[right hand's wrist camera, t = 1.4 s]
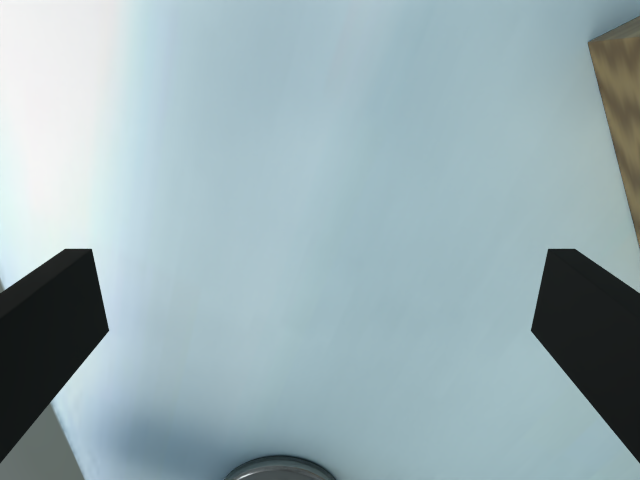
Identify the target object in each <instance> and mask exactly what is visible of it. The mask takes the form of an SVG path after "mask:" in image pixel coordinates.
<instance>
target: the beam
mask: <svg viewBox="0 0 640 480" xmlns="http://www.w3.org/2000/svg"><path fill="white" fill-rule="evenodd" d="M588 46H589V50H590V53H591V57H592V61H593V65H594V69H595V73H596V77H597V81H598V85H599V89H600V93H601V97H602V101H603V105H604V109H605V112H606V116H607V120H608V124H609V128H610V132H611V136H612V140H613V144H614V148H615V152H616V156H617V160H618V164H619V168H620V171H621V175H622V179H623V183H624V187H625V191H626V195H627V199H628V203H629V207H630V211H631V215H632V219H633V223H634V227H635V230H636V234H637V238H638V242H639V246H640V16H639V17H637V18H635V19H633V20H631V21H629V22H627V23H625V24H623V25H621V26H619V27H617V28H615V29H613V30H611V31H609V32H607V33H605V34H603V35H601V36H599V37H597V38H595V39H593V40H591V41H589V42H588Z"/></svg>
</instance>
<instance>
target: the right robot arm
mask: <svg viewBox="0 0 640 480" xmlns="http://www.w3.org/2000/svg"><path fill="white" fill-rule="evenodd" d="M108 331H109V328H108V323H107V319H106V314H105V309H104V304H103V300H102V295H101V290H100V285H99V281H98V276H97V271H96V266H95V262H94V257H93V252H92V249H64V250H63V251H61V252H60V253H58V254H57V255H55V256H54V257H53V258H51V259H50V260H48V261H47V262H45V263H44V264H42V265H41V266H39V267H38V268H37V269H35V270H34V271H32V272H31V273H29V274H28V275H26V276H25V277H23V278H22V279H21V280H19V281H18V282H16V283H15V284H13V285H12V286H10V287H9V288H7V289H6V290H5V291H3V292H2V293H0V463H1V462H2V460H3V459H4V458H5V457H6V456H7V454H8V453H9V452H10V451H11V450H12V448H13V447H14V446H15V445H16V443H17V442H18V441H19V440H20V439H21V437H22V436H23V435H24V434H25V433H26V431H27V430H28V429H29V428H30V426H31V425H32V424H33V423H34V421H35V420H36V419H37V418H38V417H39V415H40V414H41V413H42V412H43V411H44V409H45V408H46V407H47V406H48V405H49V403H50V402H51V401H52V400H53V398H54V397H55V396H56V395H57V394H58V392H59V391H60V390H61V389H62V387H63V386H64V385H65V384H66V383H67V381H68V380H69V379H70V378H71V377H72V375H73V374H74V373H75V372H76V370H77V369H78V368H79V367H80V366H81V364H82V363H83V362H84V361H85V359H86V358H87V357H88V356H89V355H90V353H91V352H92V351H93V350H94V348H95V347H96V346H97V345H98V344H99V342H100V341H101V340H102V339H103V338H104V336H105V335H106V334H107V333H108ZM531 331H532V333H533V334H534V335H535V336H536V338H537V339H538V340H539V341H540V342H541V344H542V345H543V346H544V347H545V348H546V350H547V351H548V352H549V353H550V355H551V356H552V357H553V358H554V359H555V361H556V362H557V363H558V364H559V366H560V367H561V368H562V369H563V370H564V372H565V373H566V374H567V375H568V377H569V378H570V379H571V380H572V381H573V383H574V384H575V385H576V386H577V387H578V389H579V390H580V391H581V392H582V394H583V395H584V396H585V397H586V398H587V400H588V401H589V402H590V403H591V405H592V406H593V407H594V408H595V409H596V411H597V412H598V413H599V414H600V415H601V417H602V418H603V419H604V420H605V422H606V423H607V424H608V425H609V426H610V428H611V429H612V430H613V431H614V433H615V434H616V435H617V436H618V437H619V439H620V440H621V441H622V442H623V443H624V445H625V446H626V447H627V448H628V450H629V451H630V452H631V453H632V454H633V456H634V457H635V458H636V459H637V461H638V462H639V463H640V293H638V292H637V291H635V290H634V289H633V288H631V287H630V286H628V285H627V284H625V283H624V282H622V281H621V280H619V279H618V278H617V277H615V276H614V275H612V274H611V273H609V272H608V271H606V270H605V269H603V268H602V267H601V266H599V265H598V264H596V263H595V262H593V261H592V260H590V259H589V258H587V257H586V256H585V255H583V254H582V253H580V252H579V251H577V250H576V249H548V252H547V257H546V262H545V266H544V271H543V276H542V281H541V285H540V290H539V295H538V300H537V304H536V309H535V314H534V319H533V323H532V328H531ZM224 480H335V479H334V478H333V477H332V476H331V475H330V474H329V473H328V472H327V471H325V470H324V469H322V468H321V467H319V466H317V465H315V464H313V463H311V462H308V461H305V460H302V459H298V458H293V457H284V456H273V457H264V458H259V459H255V460H252V461H249V462H247V463H244V464H242V465H240V466H239V467H237V468H236V469H234V470H233V471H232V472H231V473H230V474H229V475H227V477H226V478H225V479H224Z"/></svg>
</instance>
